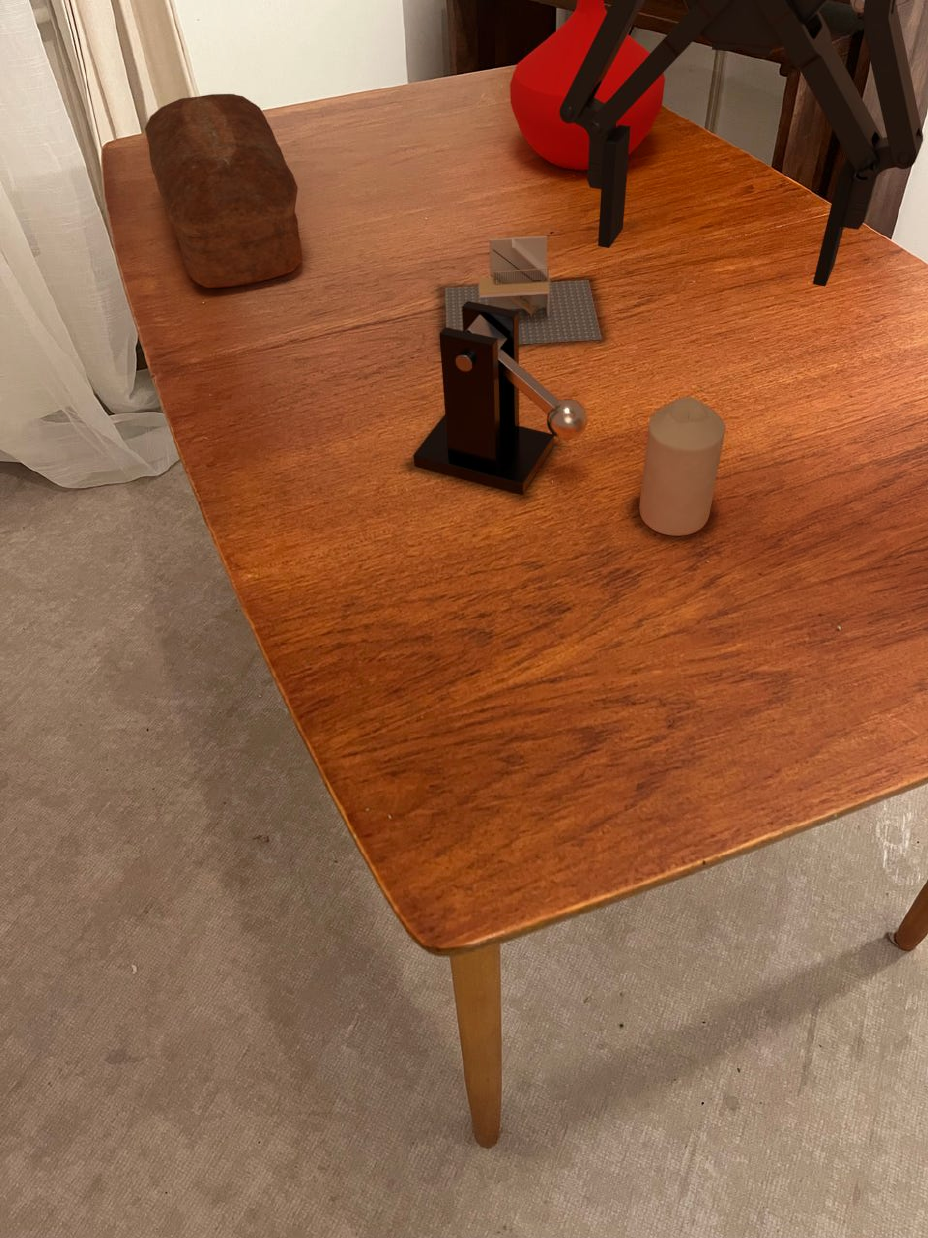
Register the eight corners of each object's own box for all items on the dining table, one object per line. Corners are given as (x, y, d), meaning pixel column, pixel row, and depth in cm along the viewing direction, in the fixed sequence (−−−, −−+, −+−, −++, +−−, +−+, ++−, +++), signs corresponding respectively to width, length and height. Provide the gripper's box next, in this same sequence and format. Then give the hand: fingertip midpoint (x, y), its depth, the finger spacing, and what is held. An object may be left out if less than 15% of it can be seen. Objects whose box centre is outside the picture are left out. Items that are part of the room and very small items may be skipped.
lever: (577, 431, 80) (601, 410, 77) (563, 454, 78) (586, 433, 75) (465, 332, 78) (485, 307, 75) (447, 353, 76) (467, 328, 73)
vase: (485, 144, 126) (480, -28, 112) (606, 112, 131) (616, -57, 116) (558, 200, 115) (562, 16, 100) (688, 162, 120) (709, -18, 105)
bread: (270, 174, 123) (250, 68, 114) (319, 280, 105) (300, 164, 96) (159, 194, 120) (129, 88, 111) (190, 307, 102) (157, 191, 93)
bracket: (554, 445, 84) (557, 311, 75) (522, 495, 80) (522, 360, 71) (449, 419, 87) (440, 287, 78) (414, 465, 83) (399, 332, 74)
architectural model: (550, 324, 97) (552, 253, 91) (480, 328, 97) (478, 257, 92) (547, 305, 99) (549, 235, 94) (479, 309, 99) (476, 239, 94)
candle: (718, 531, 76) (740, 426, 69) (650, 541, 76) (663, 437, 68) (696, 485, 80) (713, 382, 72) (630, 495, 79) (641, 391, 72)
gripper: (1075, -181, 44) (930, 261, 60) (558, -196, 52) (550, 198, 68) (1065, -143, 40) (911, 324, 56) (502, -165, 48) (507, 249, 63)
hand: (713, 255), depth 62 cm, fingers open, 13 cm apart
